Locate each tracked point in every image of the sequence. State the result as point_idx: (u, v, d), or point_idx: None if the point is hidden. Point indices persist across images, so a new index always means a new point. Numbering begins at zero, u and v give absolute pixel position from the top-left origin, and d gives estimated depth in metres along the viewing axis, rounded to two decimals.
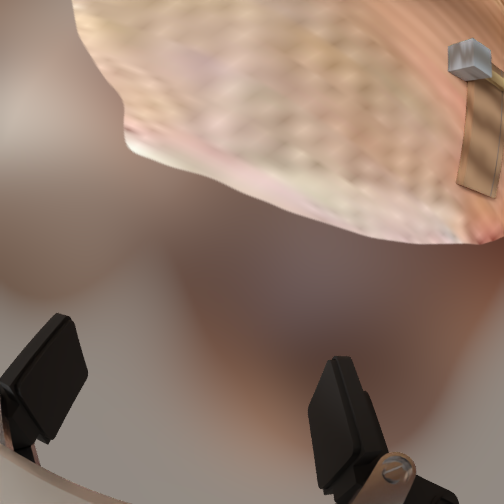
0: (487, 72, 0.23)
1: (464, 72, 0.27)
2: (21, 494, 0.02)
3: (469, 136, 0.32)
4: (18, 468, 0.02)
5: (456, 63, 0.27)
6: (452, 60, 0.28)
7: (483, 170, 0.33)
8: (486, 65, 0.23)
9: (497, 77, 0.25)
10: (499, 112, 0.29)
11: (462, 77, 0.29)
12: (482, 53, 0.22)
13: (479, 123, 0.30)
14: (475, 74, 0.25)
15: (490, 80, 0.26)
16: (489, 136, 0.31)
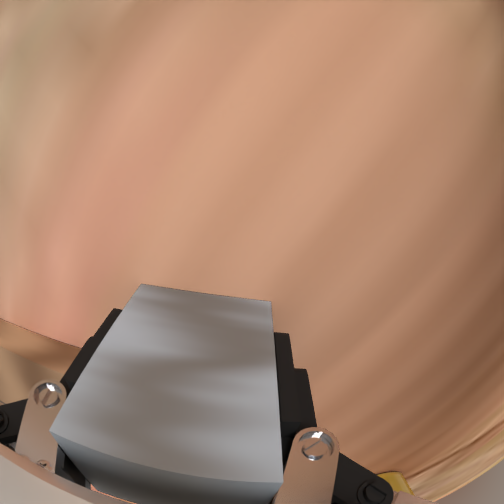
0: (97, 484, 0.05)
1: None
2: (21, 494, 0.02)
3: None
4: (18, 468, 0.02)
5: (147, 326, 0.08)
6: (180, 310, 0.09)
7: None
8: (133, 494, 0.05)
9: None
10: None
11: None
12: (194, 500, 0.05)
13: (29, 378, 0.11)
14: None
15: None
16: None
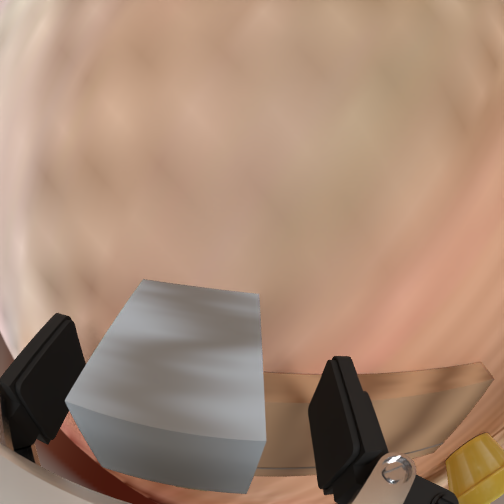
0: (103, 457, 0.06)
1: None
2: (21, 494, 0.02)
3: (268, 397, 0.12)
4: (18, 468, 0.02)
5: (150, 314, 0.09)
6: (178, 301, 0.11)
7: None
8: (135, 465, 0.06)
9: None
10: None
11: None
12: (190, 466, 0.06)
13: None
14: None
15: None
16: (284, 449, 0.13)
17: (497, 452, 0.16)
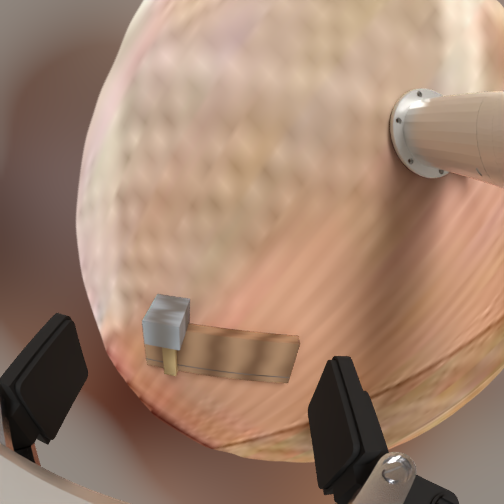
0: (146, 338, 0.35)
1: None
2: (21, 494, 0.02)
3: (194, 331, 0.41)
4: (18, 468, 0.02)
5: (159, 303, 0.39)
6: (167, 300, 0.40)
7: None
8: (154, 339, 0.35)
9: (170, 357, 0.41)
10: (236, 370, 0.44)
11: None
12: (166, 336, 0.35)
13: (212, 344, 0.42)
14: None
15: (163, 347, 0.41)
16: (204, 356, 0.43)
17: None
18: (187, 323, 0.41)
